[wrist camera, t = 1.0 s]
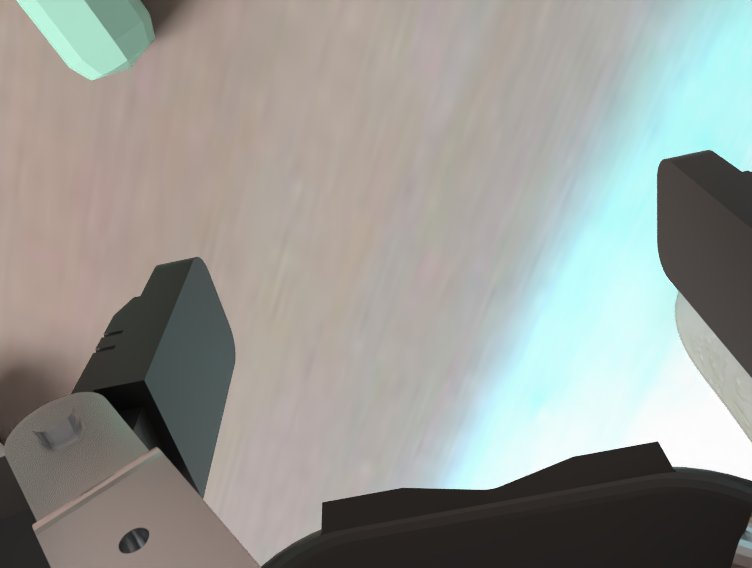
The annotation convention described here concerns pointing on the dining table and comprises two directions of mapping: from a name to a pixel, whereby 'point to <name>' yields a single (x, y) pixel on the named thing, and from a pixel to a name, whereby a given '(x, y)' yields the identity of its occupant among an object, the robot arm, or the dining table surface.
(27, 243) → the dining table surface
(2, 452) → the mug
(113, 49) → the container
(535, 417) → the dining table surface
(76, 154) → the dining table surface
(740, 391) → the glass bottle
